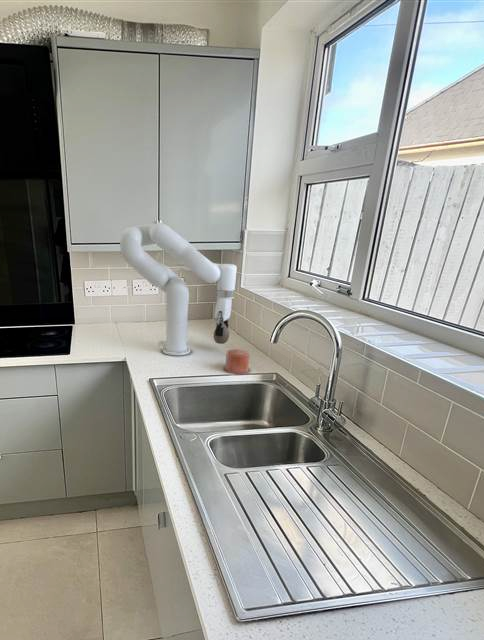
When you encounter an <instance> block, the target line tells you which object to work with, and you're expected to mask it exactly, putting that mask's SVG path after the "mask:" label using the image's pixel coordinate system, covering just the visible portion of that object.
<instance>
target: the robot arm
mask: <svg viewBox="0 0 484 640" xmlns="http://www.w3.org/2000/svg"><path fill="white" fill-rule="evenodd" d="M119 240H120V242H119V249H120V253H121V256H122V258H123V259H124V261H125V262H126V263H127V264H128V265H129V267H131V268H132V269H133V270H134V271H136V272H137V273H138V274H139V275H140V276H141V277H142V278H144V279H145V280H146V281H147V282H148V283H149V284H150V285H152V286H153V287H155V288H156V287H157V288H158V289H160V291H162V292H163V293H164V294H165V329H166V330H165V340H158V343H157V344H158V346H160V347H163V348H162V353H163V354H166V355H169V356H186V355H188V354H190V353H191V348H190V347H189V346H188V325H189V324H188V323H189V299H190V290H189V287H188V284H187V283H186V281H184V279H182V278H181V277H180V276H179V275H178V274H176V272H174V271H173V270H172V269H171V268H170V267H168V266H167V265H166V264H164V263H163V262H159V261H157V260H156V259H154V258H153V257H152V256H151V255H150V254H149V253H147V252H146V251H145V250H144V249H143V247H145V246H153V245H156V246H158V247H159V248H160V249H162V250H163V251H164V252H165V253H167V254H168V255H169V256H171V257H172V258H173V259H174V260H176V261H177V262H178V263H179V264H181V265H183V266H184V267H186V268H188V270H189V271H191V272H192V273H194V274H195V275H196V276H197V277H199V278H200V279H202V280H203V281H204V282H206V283H208V284H214V283H216V282H217V284H216V295H215V296H216V298H217V299H216V301H215V302H216V303H215V308H214V316H213V319H214V321H216V325H215V329H216V334H215V335H216V336H223V328H224V327H223V324H224V323H225V325H226V327H227V329H228V330H229V321H230V320H229V319H230V317H231V314H232V305H233V303H232V302H233V299H235V292H236V291H235V290H236V282H237V281H236V280H237V271H238V267H237V265H236V264H233V263H217V262H216V263H215V262H213V261H212V260H209V258H207V257H206V256H204V255H203V253H201V252H200V251H198V250H197V249H196V248H195V246H194V245H193V244H192V243H190V242H189V241H188V240H186V239H185V238H183V236H182V235H180V234H178V233H177V232H176V231H175V230H173V229H172V228H171V227H169V225H168V224H165V223H163V222H160V221H159V222H154V223H148V224H138V225H131V226H127V227H126V228H125V229H124V230H122V233H121V236H120V239H119ZM221 323H222V324H221Z"/></svg>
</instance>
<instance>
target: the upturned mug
mask: <svg viewBox="0 0 484 640" xmlns="http://www.w3.org/2000/svg"><path fill="white" fill-rule="evenodd" d="M249 365H250V352H249V351H247V350H243V349H229V350H227V351H226V353H225V368H224V369H225V371H226V372H227V373H230V374H237V375H238V374H239V375H240V374H246V373H247V372H248V371H249Z"/></svg>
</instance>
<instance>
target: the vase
mask: <svg viewBox="0 0 484 640" xmlns="http://www.w3.org/2000/svg"><path fill="white" fill-rule="evenodd" d="M221 324H222V322H221ZM223 327H224V328H223V336H216V335H215V334H216V328H214V330H213V341H214V342H215V344H219V345H223V344H226V343H228V340H229V338H230V331H229V328H228V329H227V327H226V325H225V323H224V324H223Z"/></svg>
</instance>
